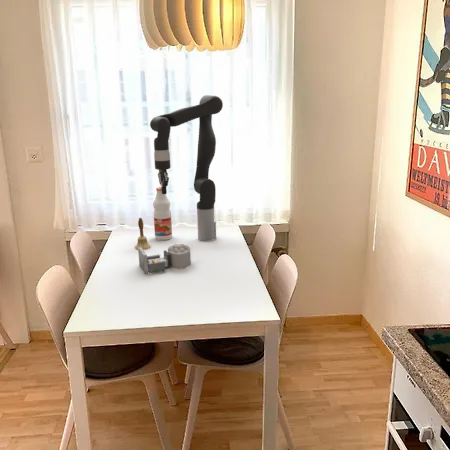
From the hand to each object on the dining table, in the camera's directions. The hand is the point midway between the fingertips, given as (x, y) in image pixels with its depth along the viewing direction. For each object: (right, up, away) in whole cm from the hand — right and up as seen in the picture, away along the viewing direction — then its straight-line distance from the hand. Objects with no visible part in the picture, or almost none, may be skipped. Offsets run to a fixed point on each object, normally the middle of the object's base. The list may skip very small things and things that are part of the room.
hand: (164, 193), depth 246 cm
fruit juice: (-3, -23, +26) cm, 35 cm away
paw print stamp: (+9, -34, -12) cm, 37 cm away
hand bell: (-13, -27, +12) cm, 32 cm away
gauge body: (-3, -36, -17) cm, 40 cm away
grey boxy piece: (0, -35, -18) cm, 39 cm away
